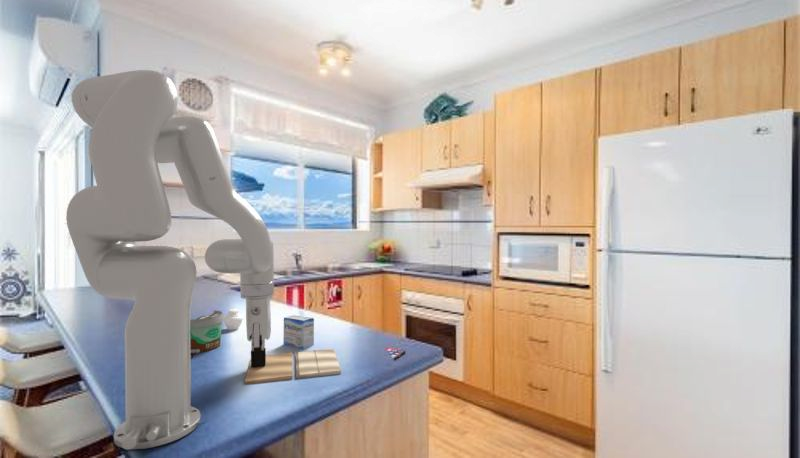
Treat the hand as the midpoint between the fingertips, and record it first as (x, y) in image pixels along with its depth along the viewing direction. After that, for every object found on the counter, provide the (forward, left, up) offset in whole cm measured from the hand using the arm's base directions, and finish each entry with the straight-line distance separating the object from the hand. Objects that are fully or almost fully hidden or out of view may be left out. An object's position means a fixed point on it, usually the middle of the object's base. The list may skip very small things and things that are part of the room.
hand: (258, 365), depth 91 cm
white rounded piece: (+42, +11, -2) cm, 44 cm away
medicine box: (+16, -10, -2) cm, 19 cm away
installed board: (-1, -14, -1) cm, 14 cm away
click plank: (-1, -3, -2) cm, 3 cm away
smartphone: (0, -31, -2) cm, 31 cm away
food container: (+20, +14, -2) cm, 25 cm away
